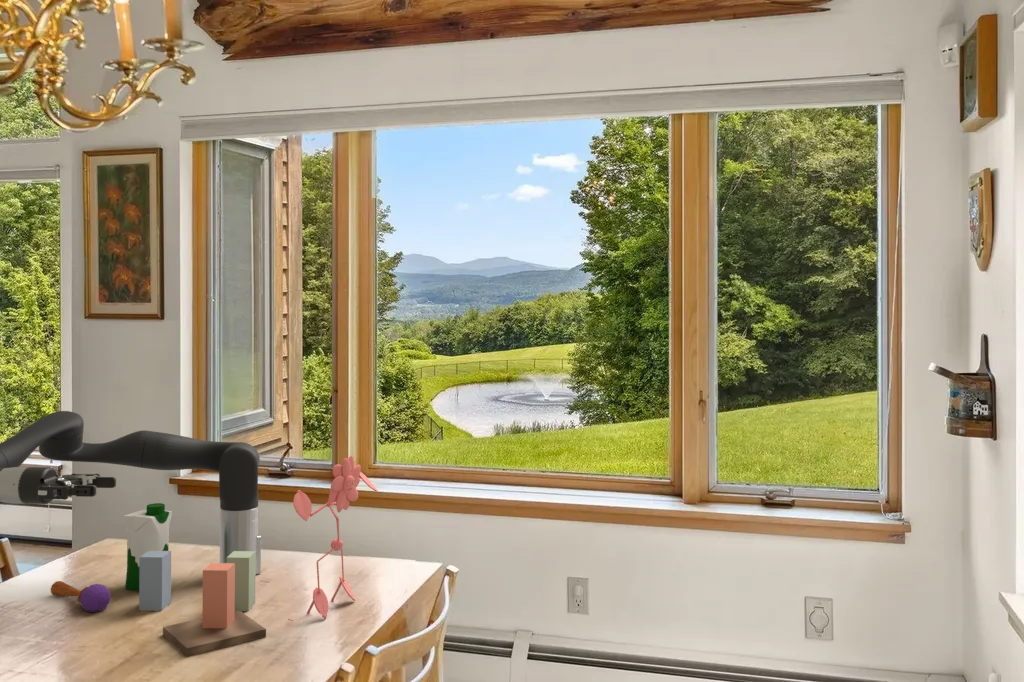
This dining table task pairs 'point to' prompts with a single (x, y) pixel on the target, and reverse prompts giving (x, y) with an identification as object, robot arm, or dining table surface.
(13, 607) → the dining table surface
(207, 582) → the red block
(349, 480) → the figurine
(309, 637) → the dining table surface
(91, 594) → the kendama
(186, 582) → the dining table surface
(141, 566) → the blue grey block
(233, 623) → the walnut board
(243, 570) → the olive block
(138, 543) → the milk carton
